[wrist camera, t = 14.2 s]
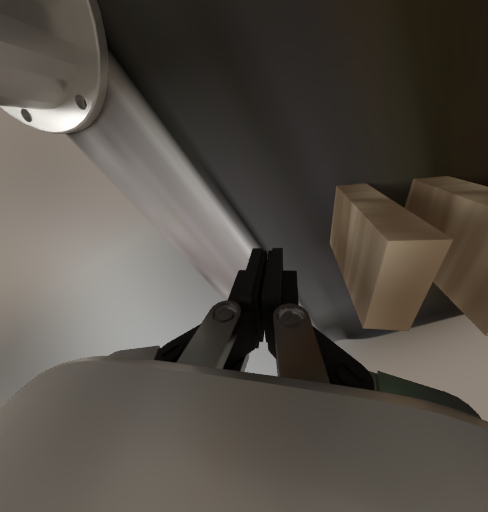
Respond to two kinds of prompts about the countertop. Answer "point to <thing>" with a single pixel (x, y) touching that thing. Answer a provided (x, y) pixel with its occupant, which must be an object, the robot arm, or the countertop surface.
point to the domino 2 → (458, 239)
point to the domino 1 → (384, 256)
